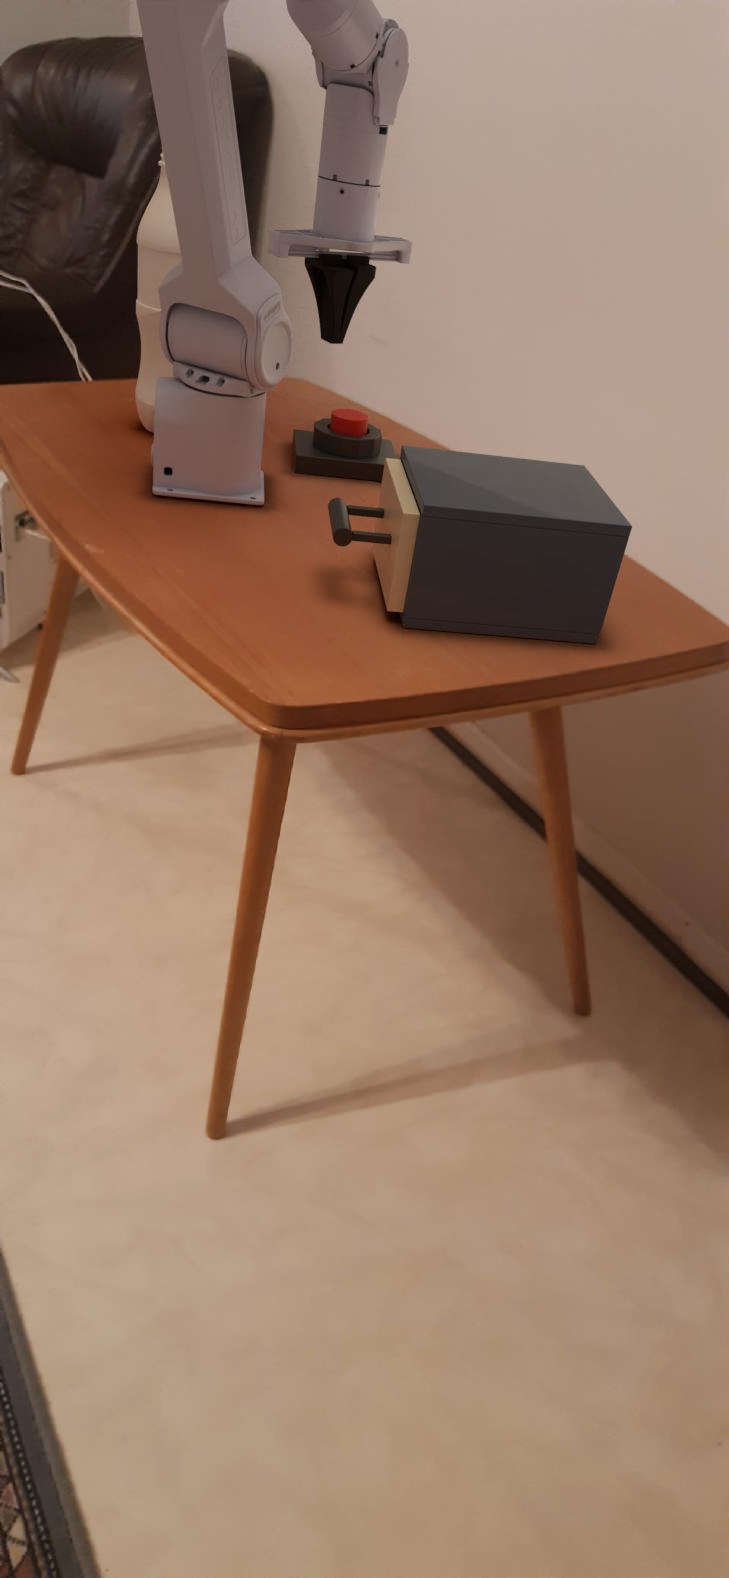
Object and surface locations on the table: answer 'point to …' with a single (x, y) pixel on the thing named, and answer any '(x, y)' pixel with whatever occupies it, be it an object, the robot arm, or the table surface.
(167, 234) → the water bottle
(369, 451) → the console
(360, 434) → the button
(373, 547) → the drawer
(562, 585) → the cabinet
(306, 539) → the table surface
